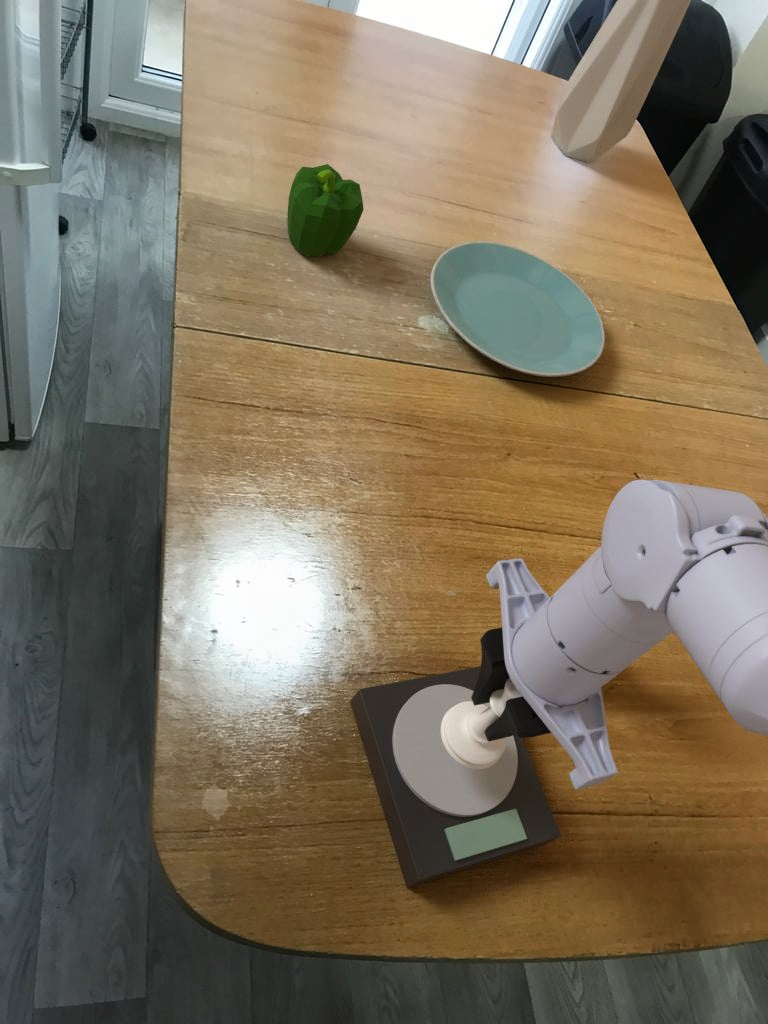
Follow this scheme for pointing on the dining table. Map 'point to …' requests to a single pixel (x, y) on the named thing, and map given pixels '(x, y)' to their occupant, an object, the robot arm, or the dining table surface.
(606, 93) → the vase
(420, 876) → the scale
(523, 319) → the plate
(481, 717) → the chess piece
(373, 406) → the dining table surface
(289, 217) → the bell pepper
